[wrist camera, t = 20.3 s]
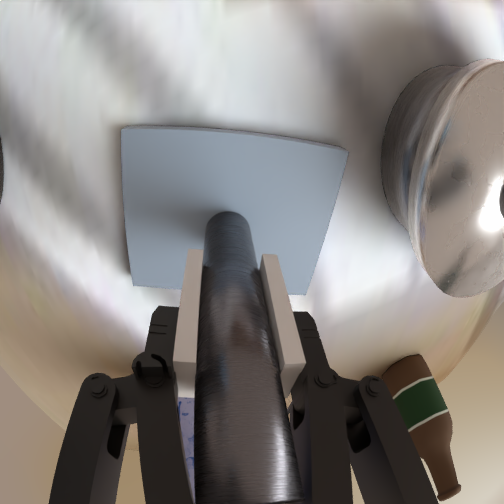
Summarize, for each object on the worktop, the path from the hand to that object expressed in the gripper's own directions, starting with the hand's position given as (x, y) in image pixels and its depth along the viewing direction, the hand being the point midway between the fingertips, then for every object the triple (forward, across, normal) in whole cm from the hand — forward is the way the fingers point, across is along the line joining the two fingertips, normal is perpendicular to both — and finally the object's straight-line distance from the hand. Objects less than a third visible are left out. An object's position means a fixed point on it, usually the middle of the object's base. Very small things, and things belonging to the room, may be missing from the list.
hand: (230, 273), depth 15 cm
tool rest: (+6, 0, 0) cm, 6 cm away
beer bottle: (+7, -29, +23) cm, 37 cm away
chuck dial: (+1, -18, -8) cm, 20 cm away
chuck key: (+5, 0, 0) cm, 5 cm away
